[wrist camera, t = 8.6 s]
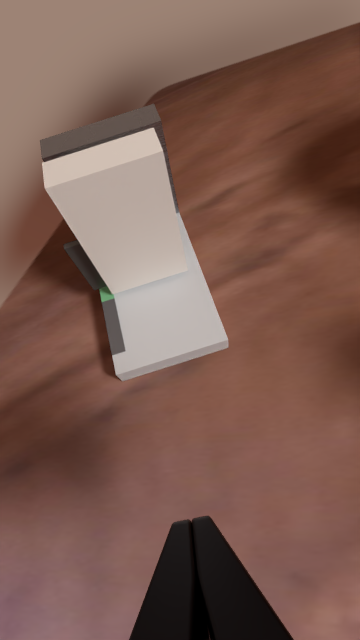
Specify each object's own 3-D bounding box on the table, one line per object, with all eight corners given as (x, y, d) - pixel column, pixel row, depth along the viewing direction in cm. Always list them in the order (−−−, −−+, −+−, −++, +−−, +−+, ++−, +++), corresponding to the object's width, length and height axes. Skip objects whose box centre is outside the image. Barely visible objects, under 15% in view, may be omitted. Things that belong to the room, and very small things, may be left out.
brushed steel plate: (179, 212, 28) (161, 120, 21) (90, 240, 28) (42, 158, 21) (173, 197, 29) (153, 103, 22) (87, 224, 29) (39, 140, 22)
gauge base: (228, 347, 23) (227, 339, 22) (122, 381, 23) (115, 374, 22) (175, 209, 30) (172, 196, 29) (93, 235, 30) (86, 223, 29)
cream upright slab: (188, 270, 24) (163, 150, 16) (96, 299, 24) (19, 196, 16) (173, 230, 26) (144, 104, 18) (88, 257, 26) (16, 145, 18)
